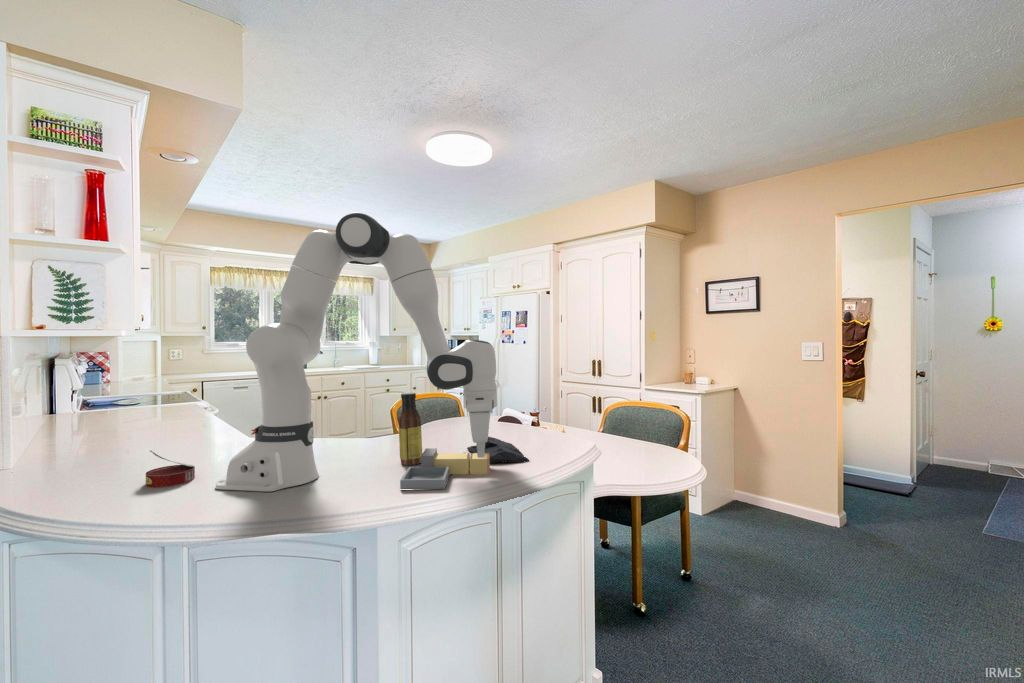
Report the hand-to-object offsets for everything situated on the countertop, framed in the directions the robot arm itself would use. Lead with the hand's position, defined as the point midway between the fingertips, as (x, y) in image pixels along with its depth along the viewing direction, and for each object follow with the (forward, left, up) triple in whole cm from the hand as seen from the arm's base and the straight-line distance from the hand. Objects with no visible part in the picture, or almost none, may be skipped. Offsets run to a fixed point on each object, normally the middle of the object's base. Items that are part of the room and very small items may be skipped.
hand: (481, 452), depth 121 cm
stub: (-1, 0, -5) cm, 5 cm away
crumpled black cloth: (+4, +17, -6) cm, 18 cm away
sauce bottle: (-20, +9, -5) cm, 23 cm away
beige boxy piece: (-9, 0, -5) cm, 11 cm away
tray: (-13, -10, -5) cm, 17 cm away
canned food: (-77, -4, -5) cm, 78 cm away
